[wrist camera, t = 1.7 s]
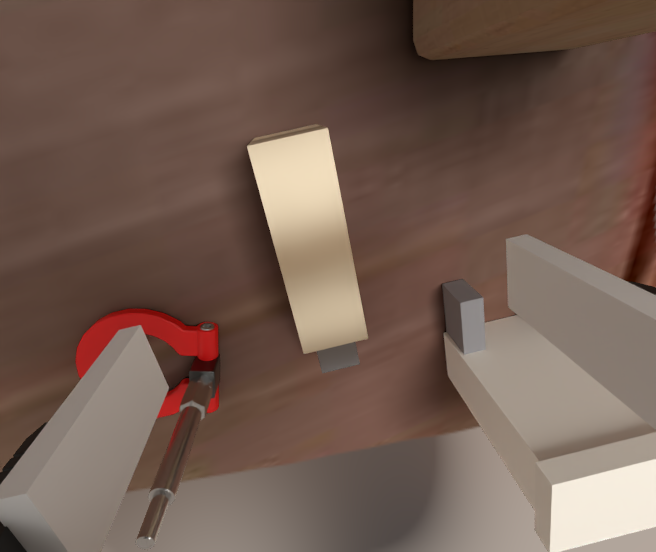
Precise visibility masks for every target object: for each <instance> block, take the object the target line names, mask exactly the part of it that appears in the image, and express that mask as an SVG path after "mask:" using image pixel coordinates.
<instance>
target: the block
mask: <svg viewBox="0 0 656 552" xmlns="http://www.w3.org/2000/svg"><path fill="white" fill-rule="evenodd" d="M654 31H656V0H413V41H414V44H415V47H416V51H417V54H418V55H420V56H422V57H424V58H427V59H429V60H440V59H453V58H465V57H478V56H491V55H504V54H516V53H529V52H542V51H555V50H567V49H575V48H579V47H584V46H589V45H593V44H598V43H603V42H608V41H612V40H617V39H622V38H626V37H631V36H636V35H640V34H645V33H650V32H654Z"/></svg>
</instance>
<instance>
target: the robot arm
mask: <svg viewBox="0 0 656 552" xmlns="http://www.w3.org/2000/svg"><path fill="white" fill-rule="evenodd" d="M506 253H507V286H508V307H509V308H510V309H511V310H512V311H514V312H515V313H516V314H517V315H518V316H520V317H521V318H522V319H523V320H524V321H525V322H527V323H528V324H529V325H530V326H531V327H533V328H534V329H535V330H536V331H537V332H539V333H540V334H541V335H542V336H543V337H545V338H546V339H547V340H548V341H549V342H551V343H552V344H553V345H554V346H555V347H557V348H558V349H559V350H560V351H561V352H563V353H564V354H565V355H566V356H567V357H569V358H570V359H571V360H572V361H573V362H575V363H576V364H577V365H578V366H579V367H581V368H582V369H583V370H584V371H585V372H587V373H588V374H589V375H590V376H591V377H593V378H594V379H595V380H596V381H597V382H599V383H600V384H601V385H602V386H603V387H605V388H606V389H607V390H608V391H609V392H611V393H612V394H613V395H614V396H615V397H617V398H618V399H619V400H620V401H621V402H623V403H624V404H625V405H626V406H627V407H629V408H630V409H631V410H632V411H633V412H635V413H636V414H637V415H638V416H639V417H641V418H642V419H643V420H644V421H645V422H647V423H648V424H649V425H650V426H651V427H653V428H654V429H655V430H656V288H655V287H652V286H648V285H644V284H640V283H636V282H627V281H624V280H622V279H620V278H618V277H616V276H614V275H612V274H610V273H608V272H606V271H603V270H601V269H599V268H597V267H595V266H593V265H591V264H589V263H587V262H584V261H582V260H580V259H578V258H576V257H574V256H572V255H570V254H568V253H565V252H563V251H561V250H559V249H557V248H555V247H553V246H551V245H549V244H546V243H544V242H542V241H540V240H538V239H536V238H534V237H532V236H530V235H527V234H526V235H522V236H517V237H513V238H509V239H506ZM168 389H169V387H168V384H167V382H166V380H165V378H164V375H163V373H162V371H161V369H160V367H159V364H158V362H157V360H156V358H155V355H154V353H153V351H152V349H151V347H150V344H149V342H148V340H147V338H146V335H145V333H144V331H143V329H142V327H141V325H138V326H134V327H129V328H125V329H121V330H118V332H117V333H116V334H115V336H114V337H113V338H112V340H111V341H110V342H109V343H108V345H107V346H106V347H105V349H104V350H103V351H102V353H101V354H100V355H99V357H98V358H97V359H96V360H95V362H94V363H93V364H92V366H91V367H90V368H89V370H88V371H87V372H86V373H85V375H84V376H83V377H82V379H81V380H80V381H79V383H78V384H77V385H76V387H75V388H74V389H73V390H72V392H71V393H70V394H69V396H68V397H67V398H66V400H65V401H64V402H63V403H62V405H61V406H60V407H59V409H58V410H57V411H56V413H55V414H54V415H53V417H52V418H51V419H50V420H49V422H46V423H44V424H43V425H42V426H41V427H40V428H38V429H37V430H36V431H35V432H34V433H33V434H31V435H30V436H29V437H28V438H27V439H26V440H25V441H24V442H23V444H22V445H21V446H20V448H19V449H18V450H17V451H16V453H15V454H14V455H13V456H14V458H11V459H10V460H9V461H8V463H7V464H6V465H5V466H4V468H3V469H2V470H3V472H0V552H101V551H102V548H103V546H104V543H105V541H106V539H107V536H108V534H109V531H110V529H111V527H112V524H113V521H114V519H115V517H116V514H117V512H118V510H119V507H120V505H121V502H122V500H123V498H124V495H125V493H126V490H127V488H128V486H129V483H130V481H131V478H132V476H133V474H134V471H135V469H136V466H137V464H138V462H139V459H140V457H141V454H142V452H143V450H144V447H145V445H146V442H147V440H148V438H149V435H150V433H151V430H152V428H153V426H154V423H155V421H156V418H157V416H158V414H159V411H160V409H161V406H162V404H163V402H164V399H165V397H166V394H167V392H168Z"/></svg>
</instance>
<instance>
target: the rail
mask: <svg viewBox="0 0 656 552" xmlns="http://www.w3.org/2000/svg"><path fill="white" fill-rule="evenodd" d="M247 149H248V152H249V156H250V160H251V163H252V167H253V171H254V174H255V178H256V182H257V185H258V189H259V192H260V196H261V200H262V203H263V207H264V211H265V214H266V218H267V222H268V225H269V229H270V233H271V236H272V240H273V243H274V247H275V251H276V254H277V258H278V262H279V265H280V269H281V273H282V276H283V280H284V283H285V287H286V291H287V294H288V298H289V302H290V305H291V309H292V313H293V316H294V320H295V324H296V327H297V331H298V334H299V338H300V342H301V345H302V349H303V353H304V354H307V353H311V352H315V351H317V355H318V359H319V363H320V366H321V370H322V373H325V372H330V371H334V370H338V369H342V368H346V367H350V366H354V365H358V364H360V363H359V358H358V353H357V348H356V343H355V342H356V341H361V340H365V339H368V335H367V330H366V324H365V319H364V314H363V309H362V303H361V298H360V293H359V288H358V283H357V277H356V272H355V267H354V262H353V257H352V251H351V246H350V241H349V236H348V230H347V225H346V220H345V215H344V210H343V204H342V199H341V194H340V189H339V184H338V178H337V173H336V168H335V163H334V157H333V152H332V147H331V142H330V137H329V131H328V128H326V127H323V126H320V125H317V124H314V125H310V126H305V127H301V128H296V129H292V130H287V131H283V132H279V133H274V134H270V135H265V136H261V137H256V138H254V139H253V140H252V141H251V142H250V143H249V144H248V145H247Z"/></svg>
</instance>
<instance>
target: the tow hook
mask: <svg viewBox="0 0 656 552" xmlns="http://www.w3.org/2000/svg"><path fill="white" fill-rule="evenodd" d="M138 325H141V327H142V329H143V331H144V333H145V334H147V335H152V336H155V337H157V338H159V339H161V340H164V341H165V342H167V343H168V344H169V345H170V346H172V347H173V348H174V349H175V351H176V352H177V353H178V354H180V355H182V356H196V357H195V359H194V362H193V364H192V366H191V369H190V371H189V378H185V379H183V380H182V381H181V383H180V384H179V385H178V386H176V387H175V388H174V389H173V390H171V391H169V392H167V394H166V397H165V399H164V402H163V404H162V406H161V409H160V411H159V414H158V416H157V418H160V417H164V416H169V415H173V414H175V413H177V412H179V411H180V416H179V419H178V422H177V424H176V427H175V429H174V432H173V434H172V437H171V439H170V442H169V444H168V447H167V449H166V452H165V454H164V457H163V459H162V462H161V464H160V467H159V469H158V472H157V475H156V477H155V480H154V482H153V485H152V487H151V490H150V492H149V495H148V498H149V501H150V502H151V503H150V505H149V508H148V510H147V513H146V515H145V518H144V521H143V523H142V526H141V529H140V531H139V534H138V537H137V539H136V545H137V547H139V548H140V549H144V550H146V549H150V548H152V547H153V546H154V545H155V543H156V540H157V537H158V534H159V530H160V527H161V525H162V522H163V519H164V516H165V513H166V510H167V507H168V506H169V505H171V504H172V503H173V502H174V500H175V497H176V494H177V491H178V488H179V485H180V482H181V479H182V476H183V472H184V469H185V466H186V463H187V460H188V457H189V454H190V451H191V448H192V445H193V441H194V438H195V435H196V432H197V429H198V426H199V423H200V420H202V419H203V418H205V416H206V413H211V412H214V411H216V410H217V409H218V407H219V381H220V355H219V353H218V325H217V324H216V323H213V322H203V323H200V324H199V325H197V326H186V325H184V324H183V323H182V322H181V321H179V320H177V319H175V318H173V317H171V316H169V315H167V314H165V313H162V312H157V311H153V310H149V309H125V310H121V311H116V312H112V313H110V314H108V315H106V316H105V317H103V318H101V319H99V320H98V321H97V322H96V323H95V324H94V325H93V326H92V327H91V328H90V329H89V330H88V331H87V332H86V333H85V334H84V335H83V336H82V338H81V341H80V343H79V345H78V347H77V352H76V361H75V362H76V366H77V371H78V375H79V377H80V379H82V377H83V376H84V375H85V373H86V372H87V371H88V370H89V368H90V367H91V366H92V364H93V363H94V362H95V360H96V359H97V358H98V357H99V355H100V354H101V353H102V351H103V350H104V349H105V347H106V346H107V345H108V343H109V342H110V341H111V340H112V338H113V337H114V336H115V334H116V333H117V332H118V330H121V329H125V328H129V327H134V326H138Z"/></svg>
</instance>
